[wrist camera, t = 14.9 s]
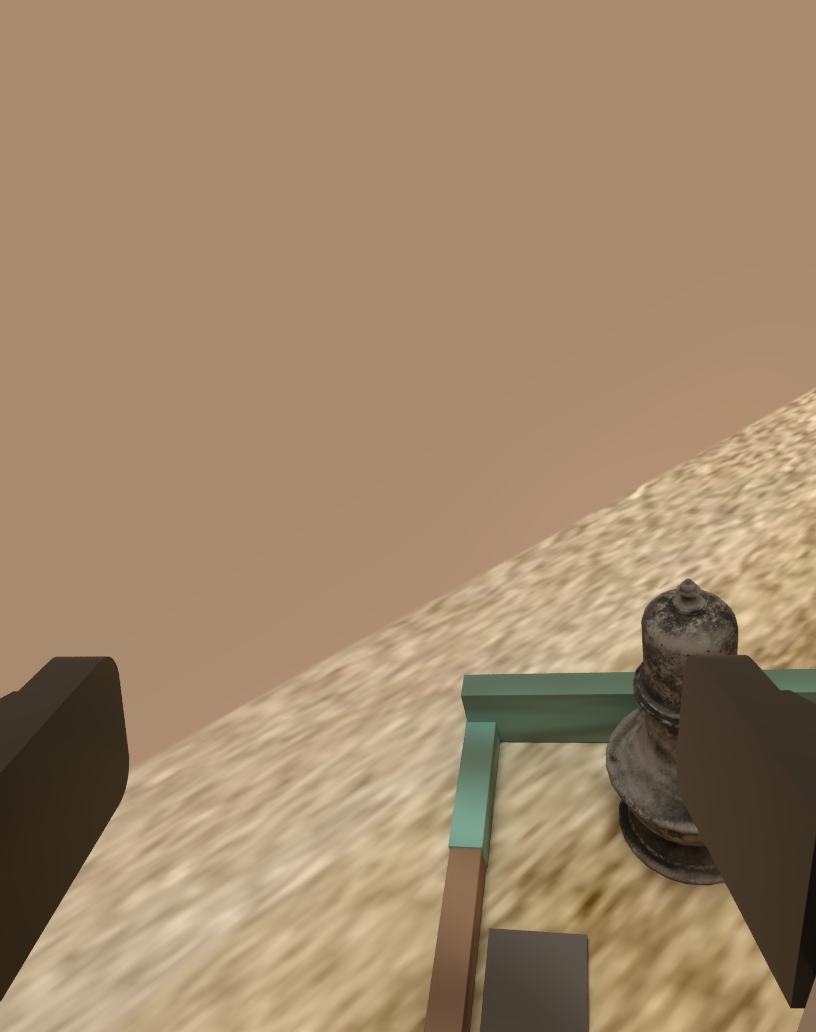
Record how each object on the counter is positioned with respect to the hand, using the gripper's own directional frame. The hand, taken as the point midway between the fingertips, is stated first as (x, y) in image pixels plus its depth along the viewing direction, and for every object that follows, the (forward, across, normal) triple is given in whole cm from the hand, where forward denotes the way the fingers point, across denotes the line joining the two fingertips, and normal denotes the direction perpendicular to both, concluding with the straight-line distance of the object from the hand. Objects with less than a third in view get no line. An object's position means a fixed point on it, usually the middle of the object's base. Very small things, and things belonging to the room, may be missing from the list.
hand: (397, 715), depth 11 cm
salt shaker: (+16, -11, +14) cm, 24 cm away
